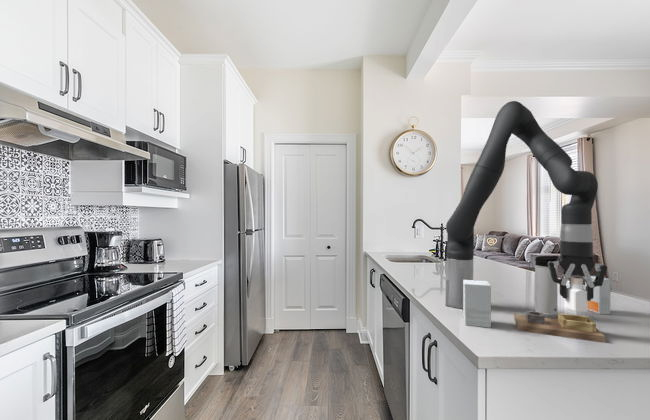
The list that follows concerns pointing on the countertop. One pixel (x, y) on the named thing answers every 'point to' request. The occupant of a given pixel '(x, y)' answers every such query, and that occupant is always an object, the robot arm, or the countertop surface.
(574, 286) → the pepper shaker
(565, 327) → the brown wooden flat board
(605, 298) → the skincare box
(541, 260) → the travel mug
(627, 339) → the countertop surface
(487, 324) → the supplement box
